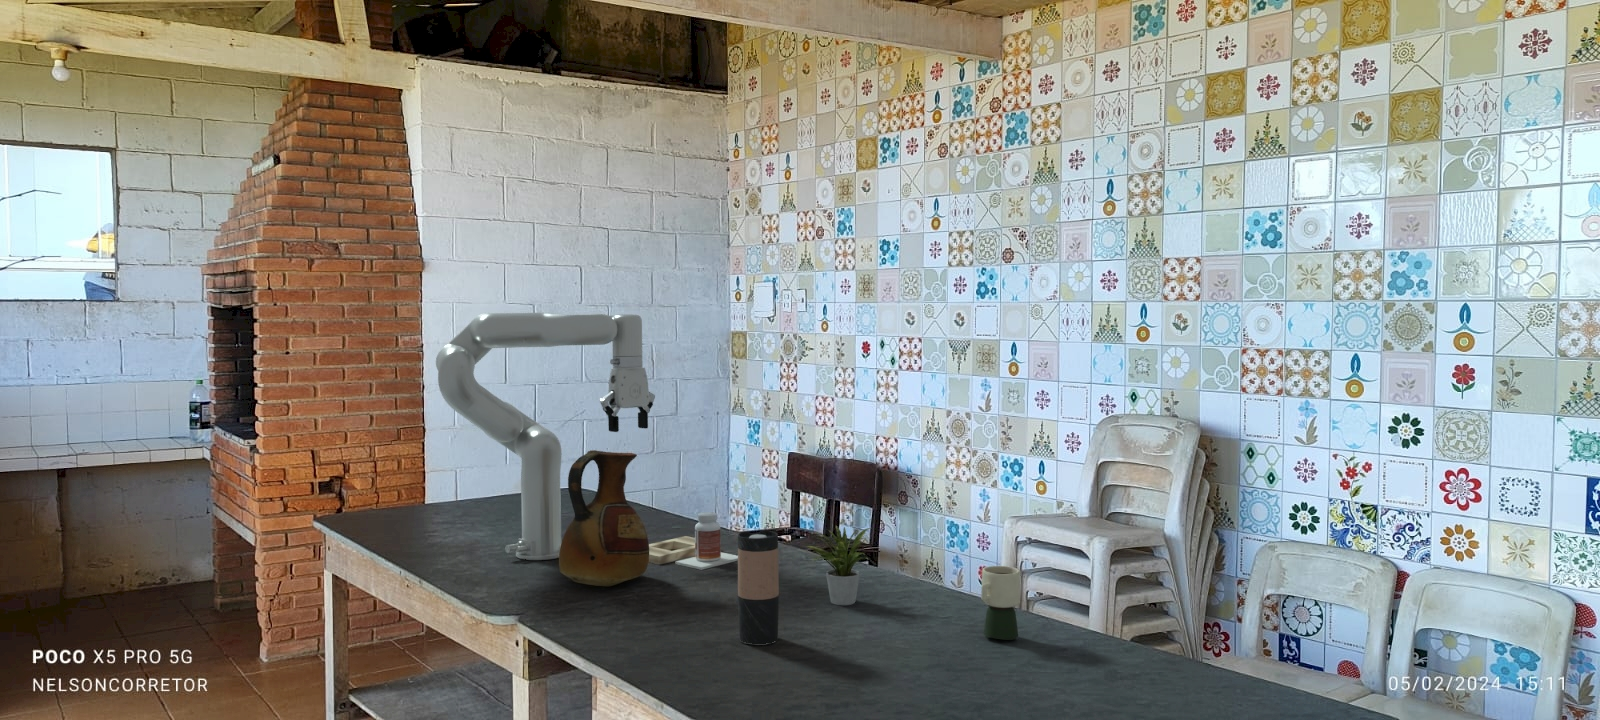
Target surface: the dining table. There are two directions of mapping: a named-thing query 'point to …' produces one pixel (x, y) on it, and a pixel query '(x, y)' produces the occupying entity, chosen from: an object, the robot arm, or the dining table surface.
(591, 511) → the ceramic pitcher
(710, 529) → the pill bottle
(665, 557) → the wooden rectangular frame
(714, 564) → the mat
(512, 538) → the dining table surface
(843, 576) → the house plant
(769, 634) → the travel mug
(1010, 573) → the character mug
